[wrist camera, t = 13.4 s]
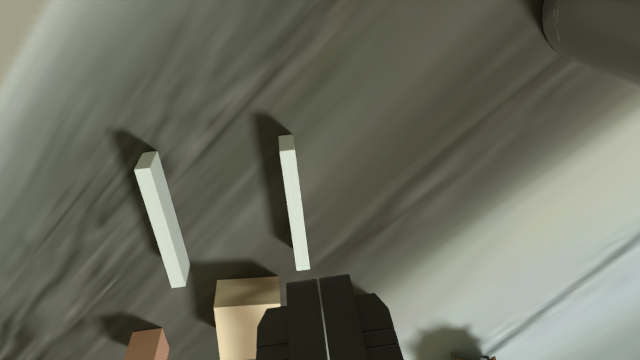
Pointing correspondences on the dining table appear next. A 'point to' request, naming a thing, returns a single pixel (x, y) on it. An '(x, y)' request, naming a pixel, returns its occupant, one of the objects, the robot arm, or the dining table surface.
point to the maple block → (242, 313)
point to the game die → (465, 359)
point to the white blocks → (167, 224)
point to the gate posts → (147, 345)
